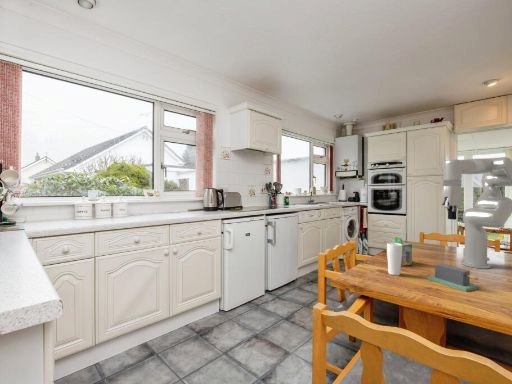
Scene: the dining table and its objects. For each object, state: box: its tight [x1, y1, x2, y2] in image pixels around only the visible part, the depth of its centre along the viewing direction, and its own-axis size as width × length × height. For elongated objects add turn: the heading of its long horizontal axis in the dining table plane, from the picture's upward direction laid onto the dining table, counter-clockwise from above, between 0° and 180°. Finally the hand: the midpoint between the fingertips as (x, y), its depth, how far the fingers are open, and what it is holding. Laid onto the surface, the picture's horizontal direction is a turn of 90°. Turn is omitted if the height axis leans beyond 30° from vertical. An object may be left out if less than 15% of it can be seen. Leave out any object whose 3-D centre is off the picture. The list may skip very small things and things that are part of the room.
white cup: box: [386, 242, 402, 277], centre depth 129 cm, size 7×7×15 cm
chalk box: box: [386, 236, 413, 267], centre depth 147 cm, size 9×9×15 cm
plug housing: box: [434, 263, 479, 286], centre depth 114 cm, size 5×16×6 cm, turn 23°
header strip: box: [426, 274, 480, 292], centre depth 116 cm, size 9×16×5 cm, turn 23°
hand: (452, 219), depth 135 cm, fingers closed
